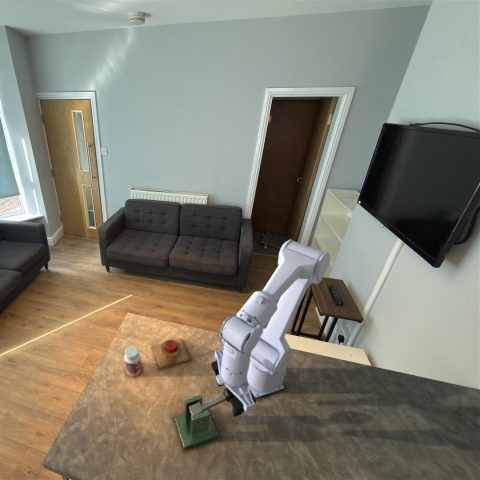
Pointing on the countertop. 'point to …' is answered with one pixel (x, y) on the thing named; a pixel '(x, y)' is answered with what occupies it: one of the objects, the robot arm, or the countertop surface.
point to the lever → (211, 402)
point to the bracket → (195, 425)
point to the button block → (170, 354)
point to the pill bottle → (132, 361)
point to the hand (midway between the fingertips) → (229, 398)
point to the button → (170, 346)
